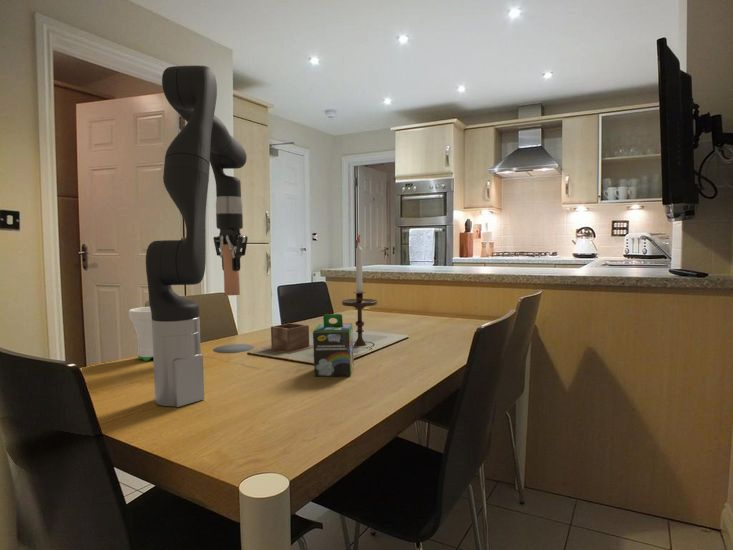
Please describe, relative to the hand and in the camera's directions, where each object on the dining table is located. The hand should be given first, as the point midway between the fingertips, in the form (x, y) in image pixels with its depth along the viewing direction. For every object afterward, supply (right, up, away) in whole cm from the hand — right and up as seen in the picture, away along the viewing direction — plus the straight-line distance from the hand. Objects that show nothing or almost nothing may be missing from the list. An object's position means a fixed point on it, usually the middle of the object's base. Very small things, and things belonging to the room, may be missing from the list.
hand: (231, 270), depth 142 cm
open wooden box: (+17, -24, +2) cm, 30 cm away
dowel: (0, -7, +1) cm, 7 cm away
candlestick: (+38, -24, +5) cm, 46 cm away
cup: (-21, -25, -6) cm, 33 cm away
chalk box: (+32, -26, -22) cm, 47 cm away
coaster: (0, -24, +2) cm, 24 cm away
